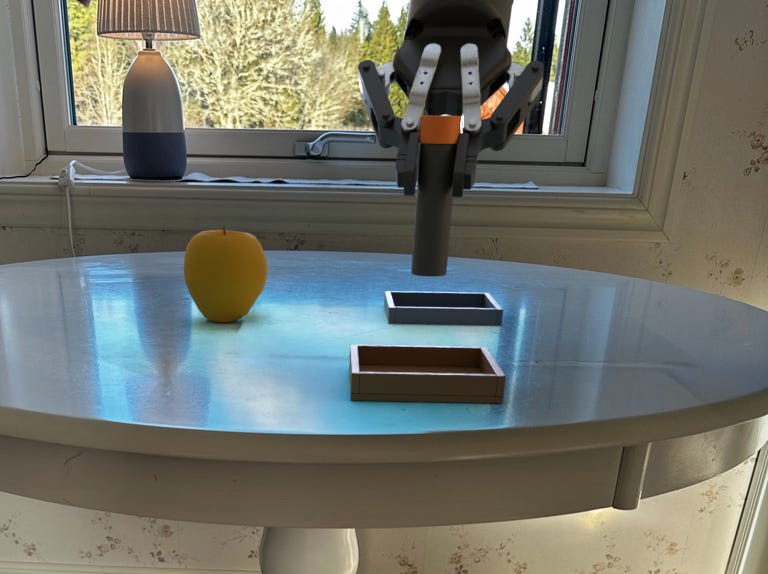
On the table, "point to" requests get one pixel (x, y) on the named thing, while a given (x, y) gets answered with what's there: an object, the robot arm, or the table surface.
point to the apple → (224, 273)
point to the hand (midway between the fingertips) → (433, 187)
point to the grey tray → (442, 308)
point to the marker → (434, 194)
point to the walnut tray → (425, 374)
